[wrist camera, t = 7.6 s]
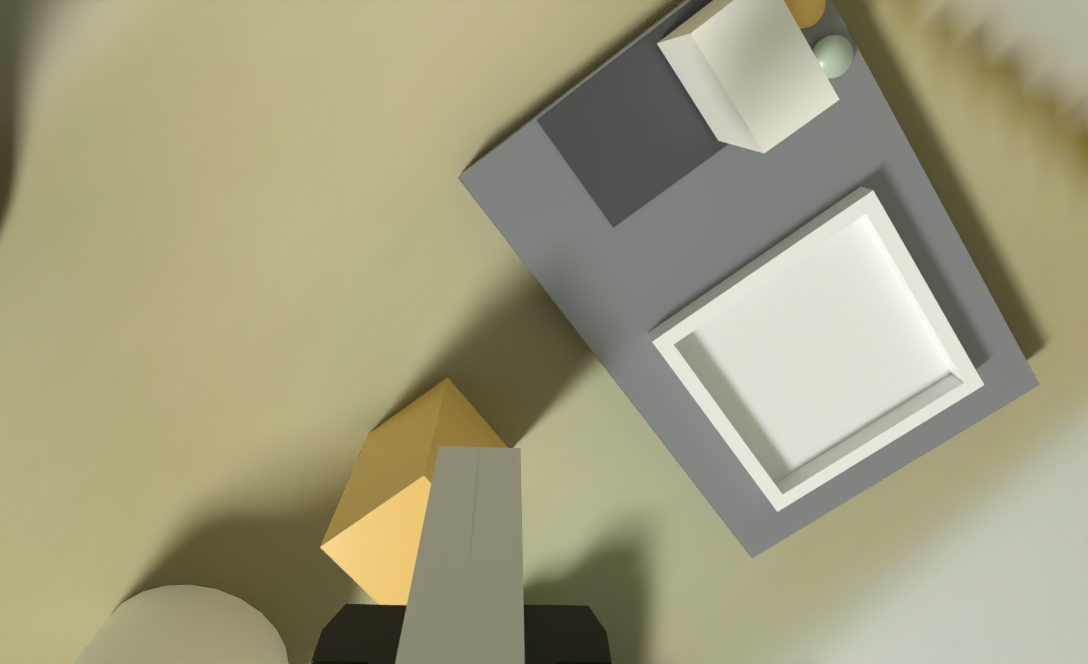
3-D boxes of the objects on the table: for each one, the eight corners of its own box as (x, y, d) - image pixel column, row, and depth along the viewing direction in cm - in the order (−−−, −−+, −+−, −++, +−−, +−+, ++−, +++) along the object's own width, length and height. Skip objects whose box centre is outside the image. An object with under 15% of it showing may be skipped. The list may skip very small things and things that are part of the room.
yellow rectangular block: (368, 433, 31) (320, 547, 23) (447, 376, 30) (423, 475, 22) (433, 502, 32) (407, 631, 24) (510, 449, 31) (507, 566, 24)
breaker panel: (457, 168, 27) (452, 176, 25) (771, -76, 25) (797, -92, 22) (741, 538, 33) (759, 572, 31) (1015, 370, 31) (1056, 394, 28)
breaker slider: (656, 43, 24) (690, 33, 19) (718, -5, 24) (768, -27, 19) (718, 140, 25) (764, 153, 21) (778, 96, 25) (839, 99, 20)
